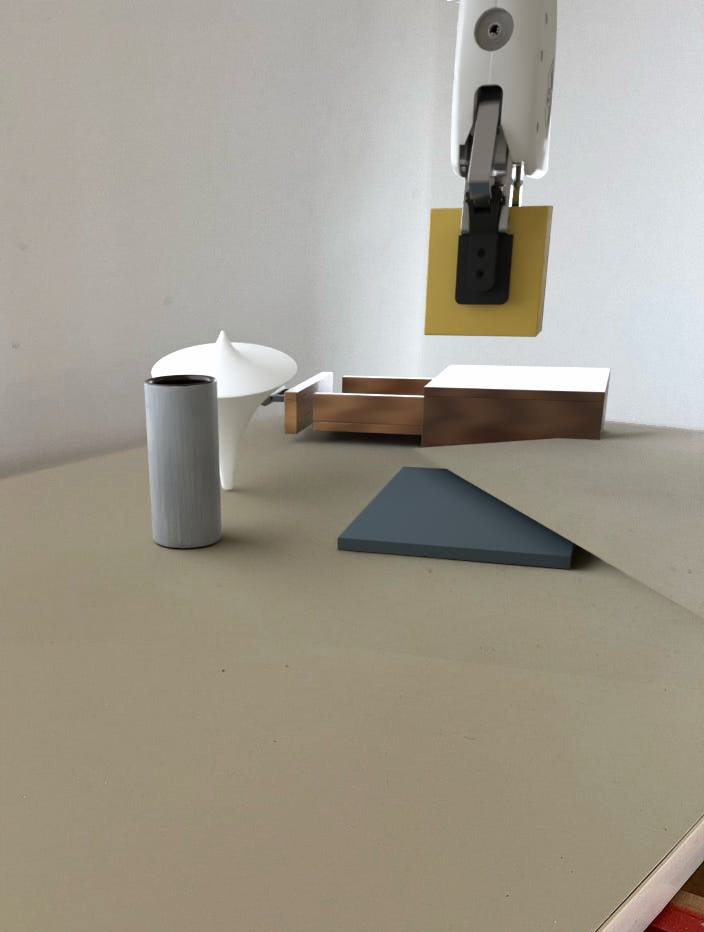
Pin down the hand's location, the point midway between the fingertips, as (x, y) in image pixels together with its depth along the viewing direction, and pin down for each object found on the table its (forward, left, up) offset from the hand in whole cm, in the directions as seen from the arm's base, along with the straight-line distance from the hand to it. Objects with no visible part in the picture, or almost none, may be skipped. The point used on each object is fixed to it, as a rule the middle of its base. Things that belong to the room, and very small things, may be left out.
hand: (486, 298), depth 65 cm
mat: (0, 0, -14) cm, 14 cm away
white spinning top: (+15, -12, -14) cm, 24 cm away
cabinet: (-14, -22, -14) cm, 30 cm away
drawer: (-1, -30, -13) cm, 33 cm away
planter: (+20, 0, -14) cm, 25 cm away
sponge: (0, 0, -2) cm, 2 cm away
